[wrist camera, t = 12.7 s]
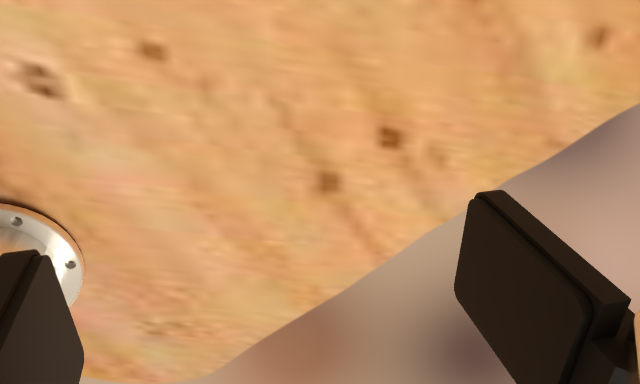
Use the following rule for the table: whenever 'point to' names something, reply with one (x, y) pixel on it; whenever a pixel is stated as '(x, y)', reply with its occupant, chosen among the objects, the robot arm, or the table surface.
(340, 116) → the table surface
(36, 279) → the robot arm
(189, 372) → the table surface
